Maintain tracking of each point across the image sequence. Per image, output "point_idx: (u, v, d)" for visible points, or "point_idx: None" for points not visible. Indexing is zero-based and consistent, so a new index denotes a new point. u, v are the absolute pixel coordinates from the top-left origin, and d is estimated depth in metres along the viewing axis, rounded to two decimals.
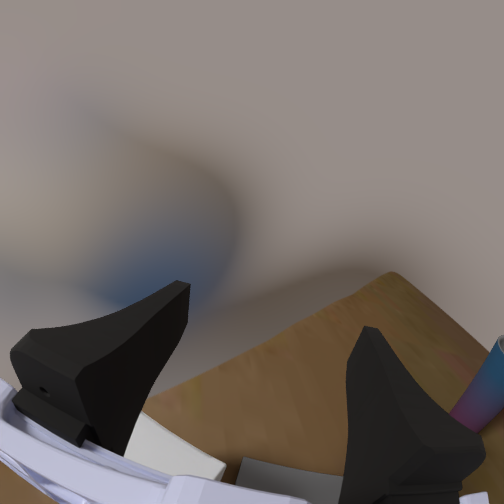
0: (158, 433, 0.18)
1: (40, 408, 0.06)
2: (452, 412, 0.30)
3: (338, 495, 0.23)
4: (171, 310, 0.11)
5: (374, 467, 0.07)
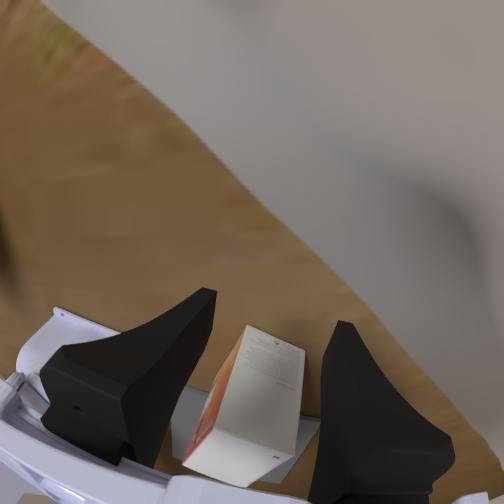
0: (262, 468, 0.18)
1: (72, 427, 0.06)
2: None
3: None
4: (200, 318, 0.11)
5: (338, 464, 0.07)
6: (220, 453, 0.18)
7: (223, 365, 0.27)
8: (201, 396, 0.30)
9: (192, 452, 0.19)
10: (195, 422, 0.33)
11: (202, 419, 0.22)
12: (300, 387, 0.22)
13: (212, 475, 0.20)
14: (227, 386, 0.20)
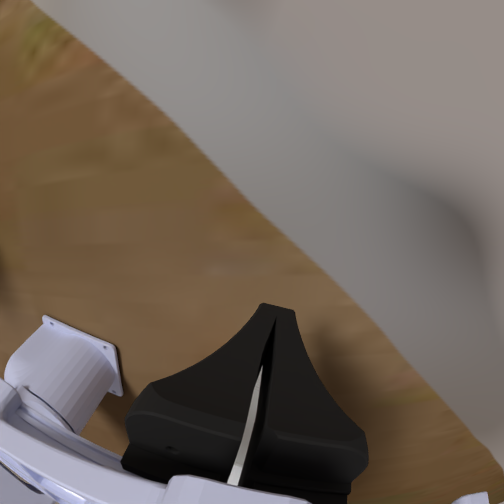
0: None
1: (161, 466, 0.06)
2: None
3: None
4: (269, 336, 0.11)
5: (251, 450, 0.07)
6: None
7: None
8: None
9: None
10: None
11: None
12: None
13: None
14: None
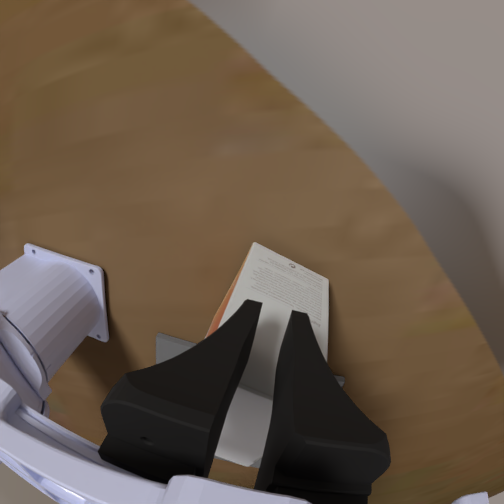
0: None
1: (137, 457, 0.06)
2: None
3: None
4: (252, 332, 0.11)
5: (272, 454, 0.07)
6: None
7: (222, 301, 0.22)
8: None
9: None
10: None
11: None
12: (326, 322, 0.17)
13: None
14: (225, 312, 0.14)
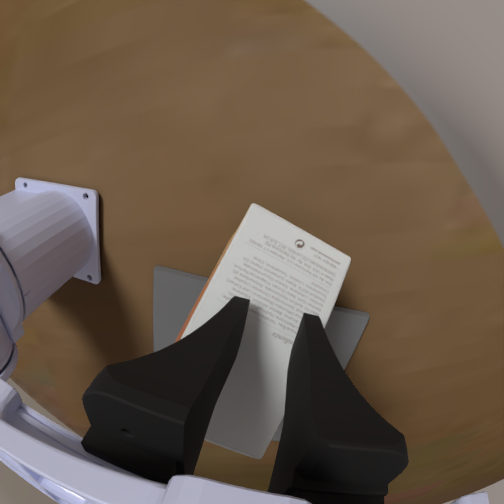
0: None
1: (118, 449, 0.06)
2: None
3: None
4: (237, 329, 0.11)
5: (289, 457, 0.07)
6: None
7: (228, 243, 0.19)
8: (197, 282, 0.23)
9: None
10: None
11: None
12: None
13: None
14: None
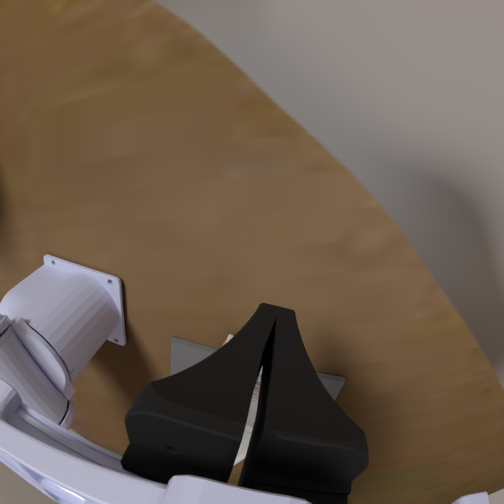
0: None
1: (161, 466, 0.06)
2: None
3: None
4: (269, 337, 0.11)
5: (251, 450, 0.07)
6: None
7: None
8: (206, 352, 0.27)
9: None
10: None
11: None
12: (243, 456, 0.21)
13: None
14: None
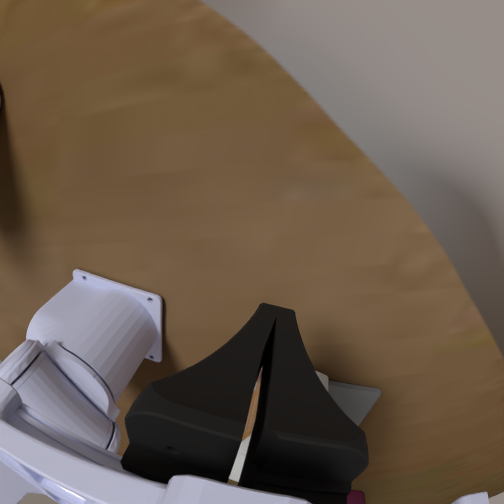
0: None
1: (161, 466, 0.06)
2: None
3: None
4: (269, 336, 0.11)
5: (251, 450, 0.07)
6: None
7: None
8: None
9: None
10: None
11: None
12: None
13: None
14: None
